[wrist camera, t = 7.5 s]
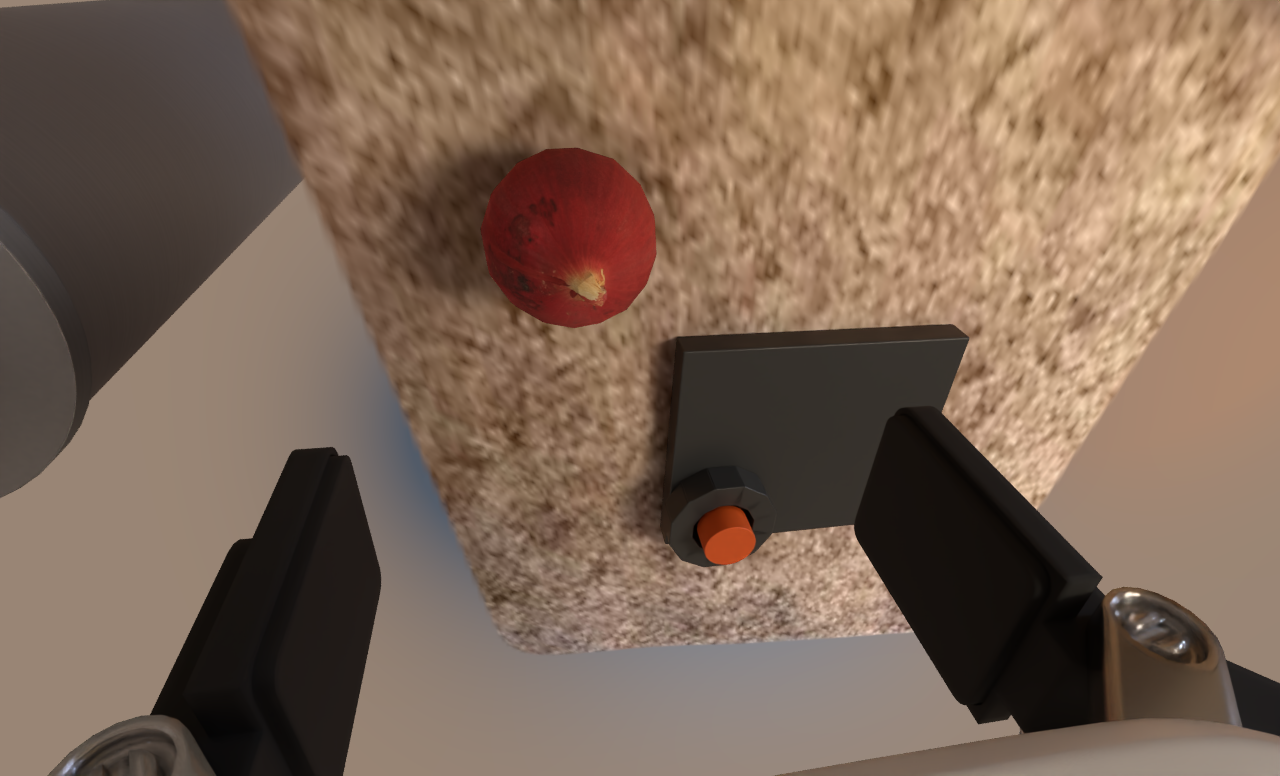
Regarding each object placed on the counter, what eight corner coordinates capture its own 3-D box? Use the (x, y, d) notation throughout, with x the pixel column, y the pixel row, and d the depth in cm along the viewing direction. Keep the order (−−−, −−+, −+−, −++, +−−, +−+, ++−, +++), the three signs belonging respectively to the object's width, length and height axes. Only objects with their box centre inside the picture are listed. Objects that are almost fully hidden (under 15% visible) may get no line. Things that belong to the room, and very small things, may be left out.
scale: (655, 529, 35) (666, 571, 33) (670, 336, 28) (686, 371, 26) (888, 506, 38) (915, 543, 35) (953, 323, 31) (992, 354, 28)
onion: (500, 283, 26) (498, 391, 19) (471, 135, 22) (456, 203, 16) (640, 266, 26) (685, 365, 20) (631, 119, 23) (681, 179, 16)
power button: (694, 544, 32) (701, 567, 31) (699, 507, 31) (707, 530, 30) (742, 539, 33) (751, 562, 32) (749, 502, 31) (759, 525, 30)
